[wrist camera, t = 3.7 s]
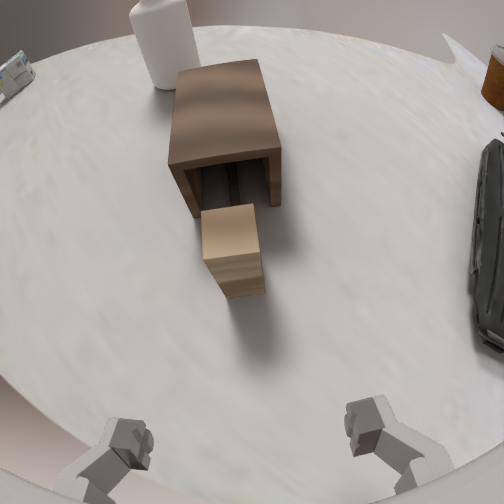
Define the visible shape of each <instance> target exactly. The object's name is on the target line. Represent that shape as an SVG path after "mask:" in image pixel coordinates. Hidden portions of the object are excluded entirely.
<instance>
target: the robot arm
mask: <svg viewBox="0 0 504 504" xmlns="http://www.w3.org/2000/svg"><path fill="white" fill-rule="evenodd" d="M346 411H347V414H346V415H345V418H344V423H345V430H346V434H347V436H348V437H350V438H351V440H350V447H351V450H352V454H353V457H355V456H359V455H364V454H368V453H372V452H374V454H376V455H377V456H378V457H379V458H381V459H382V460H383V461H384V462H386V463H387V464H388V465H389V466H391V467H392V468H393V469H395V470H396V471H397V472H398V473H400V474H401V475H402V476H401V477H400V479H399V481H398V482H397V484H396V485H395V486H394V489H395V493H396V495H395V496H392V497H389V498H386V499H383V500H379V501H376V502H373V503H369V504H504V441H503V442H502V443H500V444H499V445H497V446H496V447H494V448H493V449H491V450H489V451H488V452H486V453H485V454H483V455H481V456H479V457H478V458H476V459H474V460H472V461H471V462H469V463H467V464H465V465H463V466H461V467H460V468H458V469H455V467H454V465H453V463H452V461H451V459H450V457H449V455H448V453H447V451H446V449H445V447H444V446H443V445H441V444H439V443H437V442H435V441H433V440H432V439H430V438H428V437H426V436H424V435H422V434H421V433H419V432H417V431H415V430H414V429H412V428H410V427H408V426H407V425H405V424H403V423H399V424H398V422H397V420H396V418H395V415H394V413H393V411H392V409H391V407H390V405H389V403H388V401H387V399H386V397H385V395H383V394H382V395H378V396H375V397H370V398H366V399H362V400H358V401H354V402H350V403H347V405H346ZM145 427H146V424H145V423H144V421H143V420H132V419H122V418H113V417H110V418H109V419H108V421H107V423H106V426H105V428H104V431H103V434H102V436H101V439H100V441H99V444H98V445H95V446H93V447H92V448H91V449H89V450H88V451H87V452H85V453H84V454H83V455H81V456H80V457H79V458H77V459H76V460H75V461H74V462H72V463H71V464H70V465H68V466H67V467H65V468H64V469H63V470H62V471H61V473H60V476H59V478H58V481H57V484H56V486H55V489H54V491H51V490H49V489H46V488H43V487H41V486H39V485H36V484H34V483H32V482H30V481H27V480H25V479H23V478H21V477H19V476H17V475H15V474H13V473H11V472H9V471H7V470H5V469H1V468H0V504H116V503H115V501H114V500H113V499H111V498H110V497H109V496H107V494H108V493H109V492H110V491H111V490H112V489H113V488H114V487H115V486H116V485H117V484H118V483H119V482H120V481H121V480H122V479H123V478H124V476H125V475H126V474H127V473H128V472H129V471H130V470H131V469H136V470H147V471H148V468H149V464H150V460H151V458H150V456H149V455H148V454H149V453H150V452H151V451H152V450H153V446H154V439H153V436H152V433H151V432H150V431H149V430H148V429H146V428H145Z"/></svg>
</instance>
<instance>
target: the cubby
mask: <svg viewBox="0 0 504 504" xmlns="http://www.w3.org/2000/svg"><path fill="white" fill-rule="evenodd" d="M256 158H263V163H264V169H265V174H266V180H267V185H268V191H269V197H270V202H271V207H272V206H280V205H281V144H280V140H279V136H278V132H277V129H276V125H275V121H274V117H273V113H272V110H271V106H270V102H269V98H268V95H267V91H266V88H265V84H264V81H263V77H262V74H261V70H260V67H259V63H258V60H257V59H252V60H243V61H235V62H228V63H222V64H216V65H210V66H204V67H199V68H194V69H189V70H184V71H180V72H179V73H178V79H177V86H176V93H175V101H174V108H173V117H172V126H171V135H170V145H169V156H168V166H169V168H170V171H171V173H172V175H173V177H174V179H175V181H176V183H177V185H178V187H179V189H180V192H181V194H182V196H183V198H184V200H185V202H186V204H187V206H188V208H189V210H190V212H191V214H192V216H193V218H196V217H201V211H203V209H202V167H203V166H209V165H215V164H221V163H228V162H235V161H242V160H249V159H256Z"/></svg>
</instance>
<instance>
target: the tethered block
mask: <svg viewBox="0 0 504 504" xmlns="http://www.w3.org/2000/svg"><path fill="white" fill-rule="evenodd" d="M228 175H229V186H230V198H231V207H225V208H219V209H212V210H206V211H201V225H202V249H203V260H204V262H205V264H206V265H207V267H208V269H209V270H210V272H211V274H212V275H213V277H214V279H215V280H216V282H217V284H218V285H219V287H220V289H221V290H222V292H223V293H224V295H225V297H226V298H229V297H237V296H245V295H253V294H261V293H265V287H264V279H263V272H262V264H261V257H260V249H259V242H258V234H257V227H256V220H255V212H254V205H253V204H246V205H240V198H239V189H238V180H237V171H236V162H228Z"/></svg>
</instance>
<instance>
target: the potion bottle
mask: <svg viewBox="0 0 504 504" xmlns="http://www.w3.org/2000/svg"><path fill="white" fill-rule="evenodd" d="M129 18H130V21H131V24H132V27H133V30H134V33H135V35H136V38H137V41H138V44H139V47H140V49H141V52H142V55H143V58H144V60H145V63H146V66H147V69H148V71H149V74H150V77H151V79H152V82H153V84H154V85H155V87H157V88H159V89H162V90H173V89H176V86H177V79H178V73H179V72H180V71H184V70H189V69H194V68H199V67H201V64H200V60H199V55H198V51H197V47H196V42H195V38H194V34H193V29H192V25H191V21H190V17H189V12H188V8H187V3H186V0H140V2H139V3H138V4H137V5H136V6H134V7H133V9H132V10H131V12H130V14H129Z"/></svg>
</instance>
